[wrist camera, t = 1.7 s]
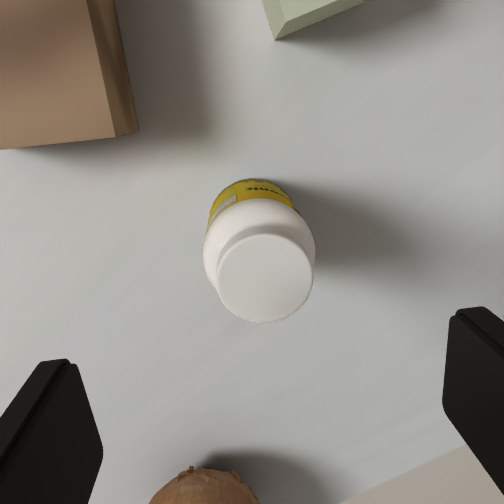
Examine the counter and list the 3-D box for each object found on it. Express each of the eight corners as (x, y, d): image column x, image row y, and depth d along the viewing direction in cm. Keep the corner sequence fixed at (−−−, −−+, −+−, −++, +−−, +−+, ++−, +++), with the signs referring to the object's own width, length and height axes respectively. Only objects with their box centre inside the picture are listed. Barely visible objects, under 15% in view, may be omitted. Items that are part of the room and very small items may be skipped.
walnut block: (138, 131, 23) (115, 137, 18) (1, 146, 23) (-59, 156, 18) (107, -32, 20) (70, -75, 15) (-50, -16, 20) (-137, -54, 15)
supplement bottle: (311, 212, 25) (358, 273, 16) (256, 273, 26) (270, 362, 17) (247, 157, 24) (257, 188, 15) (192, 224, 25) (169, 292, 16)
